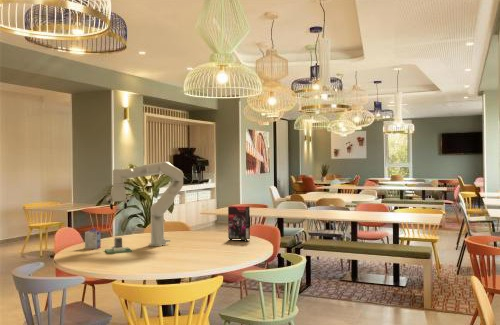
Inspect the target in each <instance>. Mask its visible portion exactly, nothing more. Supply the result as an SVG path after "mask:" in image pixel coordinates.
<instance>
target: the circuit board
mask: <svg viewBox="0 0 500 325" xmlns="http://www.w3.org/2000/svg"><path fill="white" fill-rule="evenodd" d="M104 252H105V253H106V254H107V255H108V254H109V255H111V254H121V253H122V254H123V253H133V249H131V248H130V247H125V246H123V245H122V247H119V248H115V245H112V246H111V248H105V249H104Z"/></svg>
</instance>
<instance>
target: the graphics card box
mask: <svg viewBox="0 0 500 325" xmlns="http://www.w3.org/2000/svg"><path fill="white" fill-rule="evenodd" d="M227 211H228V212H227V213H228V214H227V215H228V216H227V218H228V221H227V222H228V225H227V226H228V228H227V229H228V231H227V232H228V234H227V235H228V236H227V237H228V238H229V239H241V240H247V239H250V240H251V238H250V237H251V234H250V233H251V232H250V231H251V227H250V226H251V225H250V221H251V220H250V217H251V216H250V213H251V212H250V206H248V205H247V206H246V205H244V206H243V205H229V206H227Z"/></svg>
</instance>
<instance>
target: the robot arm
mask: <svg viewBox="0 0 500 325" xmlns="http://www.w3.org/2000/svg"><path fill="white" fill-rule="evenodd" d="M161 174H164V175H166V176H168V177H169V178H171V179H172V180H171V183H170V185H169V186H168V187H167V188H166V190H164V192H162V193H161V195H160V198H159V199H158V200H157V201H156V202H155V203H153V204H151V206H150V242H149V243H148V246H149V247H163V246H166V245H167V243H170V242H171V239H170V238H168V239H166V238H165V215H164V214H165V213H166V212H167V211H168V210H169V208H170V207H171V206H172V204H173V203H174V202H175V199H176V197H177V195H178V193H180V191H181V190H182V188H183V187H184V175H185V174H184V173H183V170H182V169H179V168H178V167H176V166H174V165H173V164H171V163H170V162H169V161H160V162H153V163H149V164H148V163H147V164H144V165H141V166H136V167H130V168H129V167H128V168H123V169H122V168H114V169H113V170H112V187H111V190H110V196H108V197H106V199H105V200H106V202H108V204H109V208H110V210H112V211H113V210H114V207H113V206H114V204H113V203H114V202H124V203H123V208H124V210H125V209H126V210H127V208H128V203H129V201H130V200H131V196H129V195H127V194H126V188H125V186H126V185H127V184H126V183H124V180H125V179H128V180H129V179H133V178H140V177H149V176H155V175H161ZM162 245H163V246H162Z"/></svg>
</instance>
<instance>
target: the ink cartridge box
mask: <svg viewBox="0 0 500 325" xmlns="http://www.w3.org/2000/svg"><path fill="white" fill-rule="evenodd" d="M101 234H102V231H101V230H97V227H91V230H88V231H84V249H86V250H88V249H89V250H92V249H93V250H97V249H101V247H102V246H101V245H102V244H101V242H102V240H101V239H102V238H101V236H102V235H101Z"/></svg>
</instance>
